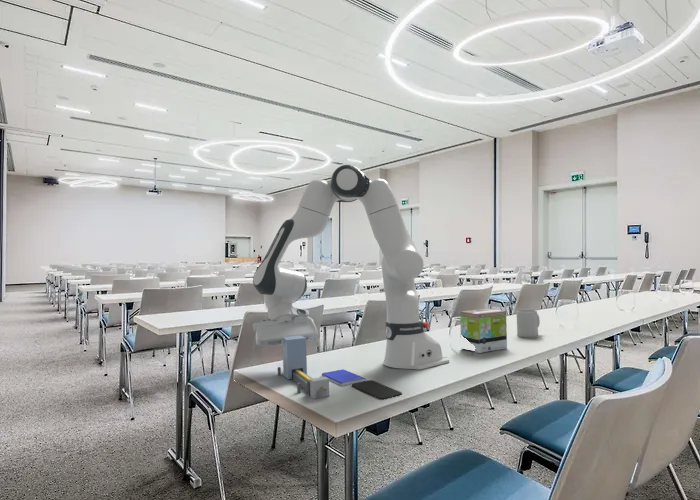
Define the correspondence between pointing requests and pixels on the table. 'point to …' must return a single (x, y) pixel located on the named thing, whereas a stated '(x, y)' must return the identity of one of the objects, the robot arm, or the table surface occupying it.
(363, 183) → the robot arm
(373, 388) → the phone
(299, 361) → the pale blue block
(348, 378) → the hard drive
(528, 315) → the mug
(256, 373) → the table surface
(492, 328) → the tea box
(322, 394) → the cord rail
